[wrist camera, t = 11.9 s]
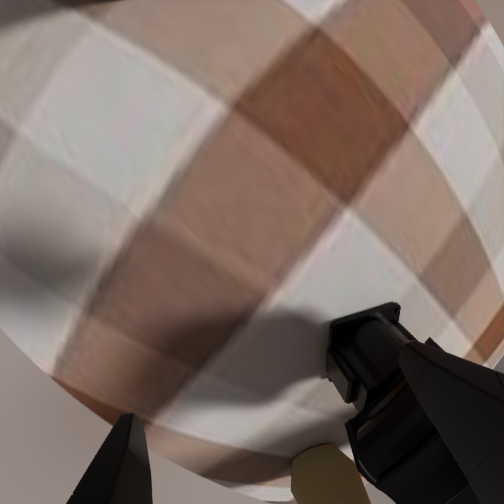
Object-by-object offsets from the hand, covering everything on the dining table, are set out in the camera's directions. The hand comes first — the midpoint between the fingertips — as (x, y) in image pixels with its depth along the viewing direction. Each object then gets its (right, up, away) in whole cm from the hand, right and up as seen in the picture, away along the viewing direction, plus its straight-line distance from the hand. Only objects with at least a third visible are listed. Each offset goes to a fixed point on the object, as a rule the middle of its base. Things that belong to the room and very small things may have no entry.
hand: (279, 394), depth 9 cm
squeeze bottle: (+7, -20, +22) cm, 31 cm away
